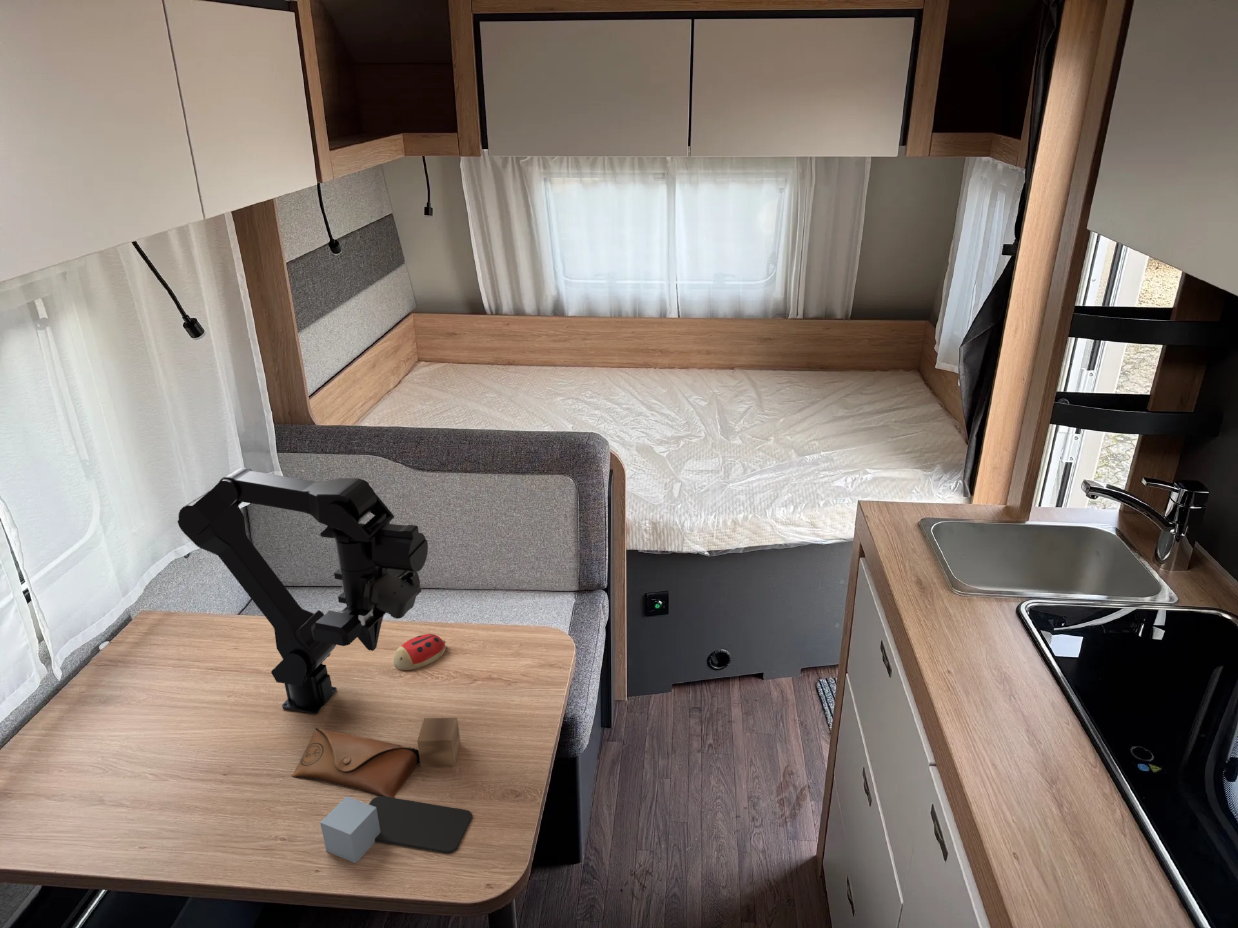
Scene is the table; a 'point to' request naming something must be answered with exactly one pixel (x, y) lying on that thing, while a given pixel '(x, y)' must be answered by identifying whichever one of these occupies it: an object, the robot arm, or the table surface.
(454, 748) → the walnut block
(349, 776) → the sunglasses case
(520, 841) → the table surface
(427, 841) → the phone
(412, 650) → the ladybug figurine
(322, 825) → the slate block
